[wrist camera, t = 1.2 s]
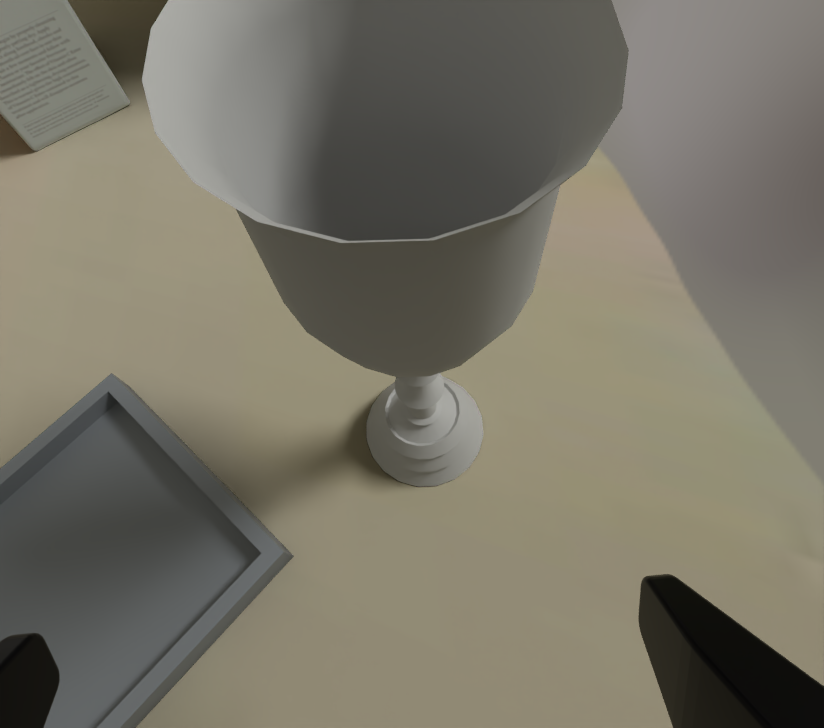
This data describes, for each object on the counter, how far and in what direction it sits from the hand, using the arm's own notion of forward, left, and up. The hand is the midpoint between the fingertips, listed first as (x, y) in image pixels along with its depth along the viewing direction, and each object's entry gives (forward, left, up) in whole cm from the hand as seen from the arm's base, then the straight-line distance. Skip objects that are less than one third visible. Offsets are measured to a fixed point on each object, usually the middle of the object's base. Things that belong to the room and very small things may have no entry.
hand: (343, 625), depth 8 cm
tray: (+11, +7, -14) cm, 19 cm away
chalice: (+5, -6, -14) cm, 16 cm away
